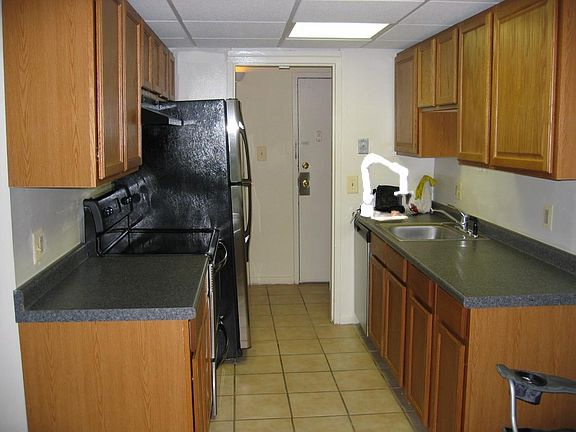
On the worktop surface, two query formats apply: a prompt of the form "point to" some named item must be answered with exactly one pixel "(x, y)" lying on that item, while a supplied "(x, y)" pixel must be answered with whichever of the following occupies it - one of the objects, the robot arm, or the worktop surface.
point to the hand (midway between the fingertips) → (403, 204)
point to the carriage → (395, 213)
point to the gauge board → (386, 216)
